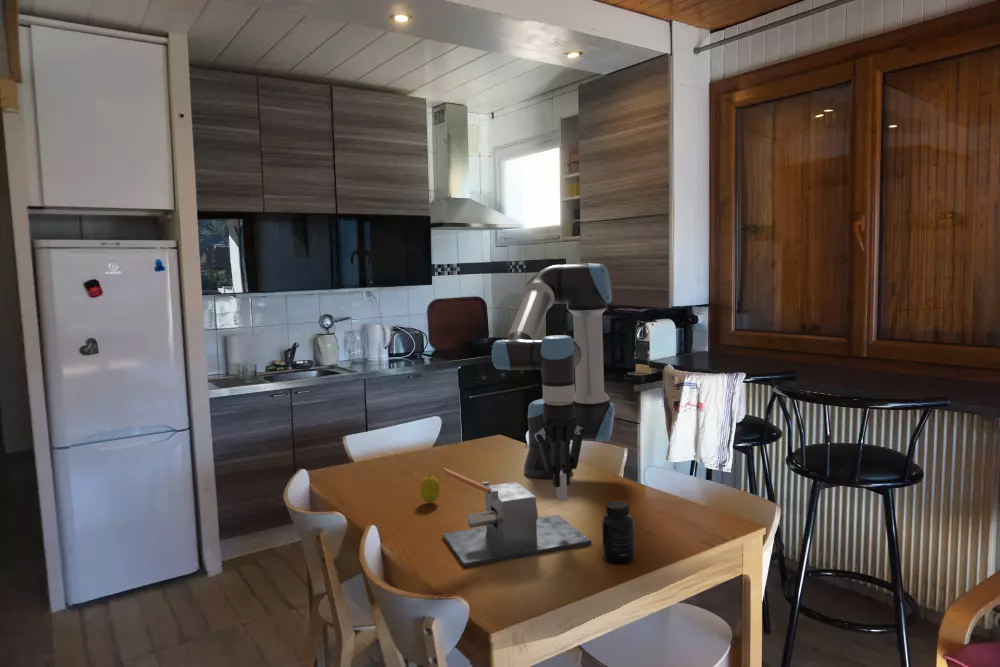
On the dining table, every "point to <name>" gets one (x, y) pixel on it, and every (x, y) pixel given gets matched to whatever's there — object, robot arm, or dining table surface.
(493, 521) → the lynch pin
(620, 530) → the supplement bottle
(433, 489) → the lemon
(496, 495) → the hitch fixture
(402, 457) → the dining table surface
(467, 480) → the tan flat bar
